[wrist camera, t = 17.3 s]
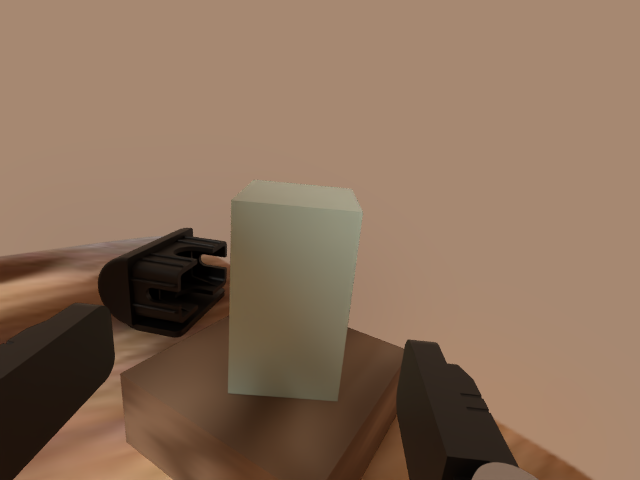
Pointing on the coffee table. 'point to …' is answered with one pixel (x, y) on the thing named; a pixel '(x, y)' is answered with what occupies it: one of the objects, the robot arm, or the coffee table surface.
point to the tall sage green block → (291, 288)
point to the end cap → (164, 283)
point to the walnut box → (257, 414)
